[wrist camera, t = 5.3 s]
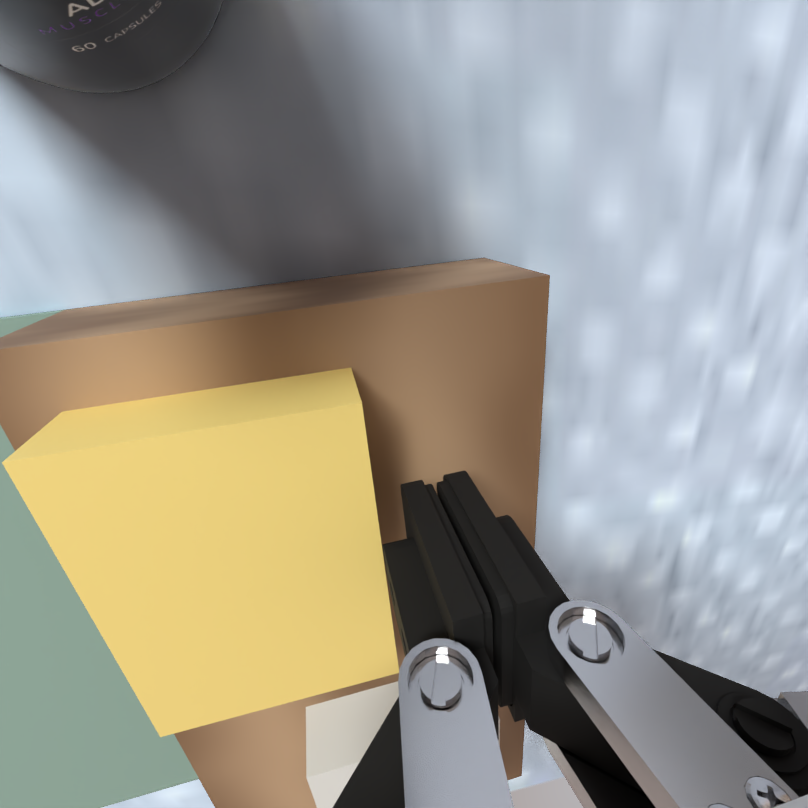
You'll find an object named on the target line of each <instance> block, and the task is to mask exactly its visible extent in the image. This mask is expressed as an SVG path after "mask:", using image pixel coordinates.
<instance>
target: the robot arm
mask: <svg viewBox="0 0 808 808" xmlns="http://www.w3.org/2000/svg"><path fill="white" fill-rule="evenodd" d="M400 488H401V496H402V504H403V512H404V520H405V528H406V536H407V539H403V540H399V541H394V542H390V543H386V544H382V549H383V556H384V562H385V568H386V574H387V579H388V584H389V589H390V594H391V598H392V603H393V607H394V611H395V616H396V620H397V624H398V628H399V633H400V637H401V641H402V645H403V650H404V654H405V658H404V660H403V662H402V665H401V667H400V669H399V679H398V689H399V697H398V698H397V700H396V702H395V703H394V705H393V707H392V708H391V710H390V712H389V713H388V715H387V717H386V718H385V720H384V722H383V724H382V725H381V727H380V729H379V730H378V732H377V734H376V735H375V737H374V739H373V740H372V742H371V744H370V745H369V747H368V749H367V750H366V752H365V754H364V755H363V757H362V759H361V761H360V762H359V764H358V766H357V767H356V769H355V771H354V772H353V774H352V776H351V777H350V779H349V781H348V782H347V784H346V786H345V787H344V789H343V791H342V792H341V794H340V796H339V798H338V799H337V801H336V803H335V804H334V806H333V808H514V806H513V802H512V797H511V793H510V789H509V785H508V780H507V776H506V772H505V768H504V764H503V759H502V755H501V751H500V747H499V742H498V740H499V725H498V705H499V706H500V707H504V706H508V708H509V710H510V712H511V715H512V717H513V720H514V722H517V721H520V720H523V719H525V720H526V722H527V725H528V727H529V729H530V730H532V731H534V732H535V733H537V734H539V735H541V736H543V738H544V741H545V743H546V745H547V748H548V750H549V752H550V753H551V755H552V757H553V758H554V760H555V762H556V763H557V765H558V766H559V768H560V770H561V771H562V773H563V775H564V776H565V778H566V780H567V781H568V783H569V785H570V786H571V788H572V789H573V791H574V793H575V794H576V796H577V798H578V799H579V801H580V803H581V804H582V806H583V807H584V808H808V691H805V692H781V693H780V695H779V697H778V698H770V697H768V696H766V695H764V694H762V693H760V692H758V691H756V690H754V689H751V688H749V687H746V686H744V685H741V684H739V683H736V682H734V681H731V680H729V679H726V678H724V677H721V676H719V675H716V674H714V673H711V672H709V671H706V670H704V669H701V668H699V667H696V666H694V665H691V664H688V663H686V662H683V661H681V660H678V659H676V658H673V657H671V656H668V655H666V654H663V653H661V652H658V651H656V650H653V649H652V648H651V647H650V646H649V645H648V644H647V643H646V642H645V641H644V640H643V639H642V638H641V637H640V636H639V635H638V634H637V633H636V632H635V631H634V630H633V629H632V628H631V627H630V626H629V625H628V624H627V623H626V622H625V621H624V620H623V619H622V618H621V617H620V616H618V615H617V614H616V613H615V612H613V611H612V610H611V609H609V608H607V607H605V606H603V605H601V604H599V603H595V602H591V601H587V600H572V601H569V599H568V598H567V597H566V595H565V594H564V592H563V591H562V589H561V588H560V586H559V585H558V584H557V582H556V581H555V579H554V578H553V576H552V575H551V573H550V572H549V571H548V569H547V568H546V566H545V565H544V563H543V562H542V560H541V559H540V558H539V556H538V555H537V553H536V552H535V550H534V549H533V547H532V546H531V544H530V543H529V542H528V540H527V539H526V537H525V536H524V534H523V533H522V531H521V530H520V529H519V527H518V526H517V524H516V523H515V521H514V520H513V519H512V518H511V517H510V516H509V515H504V516H500V517H495V515H494V514H493V512H492V511H491V509H490V507H489V506H488V504H487V503H486V501H485V500H484V498H483V496H482V495H481V493H480V492H479V490H478V489H477V487H476V486H475V484H474V482H473V481H472V479H471V478H470V476H469V475H468V473H467V472H466V471H459V472H455V473H450V474H446V475H444V476H443V481H441V482H437V493H436V491H435V489H434V487H433V485H432V484H427V485H425V484H424V482H423V480H418V481H413V482H408V483H404V484H401V486H400Z"/></svg>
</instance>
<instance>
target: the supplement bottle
mask: <svg viewBox="0 0 808 808" xmlns="http://www.w3.org/2000/svg"><path fill="white" fill-rule="evenodd" d="M222 2H223V0H0V65H2V66H4V67H6V68H8V69H10V70H12V71H14V72H16V73H19V74H21V75H24V76H26V77H29V78H31V79H34V80H37V81H40V82H43V83H46V84H49V85H53V86H56V87H59V88H64V89H69V90H74V91H81V92H90V93H115V92H124V91H129V90H134V89H138V88H142V87H144V86H147V85H150V84H153V83H155V82H157V81H159V80H161V79H163V78H165V77H167V76H168V75H170V74H171V73H173V72H174V71H176V70H177V69H179V68H180V67H181V66H182V65H183V64H184V63H186V62H187V61H188V60H189V59H190V58H191V57H192V56H193V54H194V53H195V52H196V51H197V50H198V49H199V47H200V46H201V45H202V43H203V42H204V40H205V39H206V37H207V36H208V34H209V32H210V30H211V28H212V26H213V25H214V23H215V21H216V18H217V16H218V13H219V10H220V8H221V5H222Z"/></svg>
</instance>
